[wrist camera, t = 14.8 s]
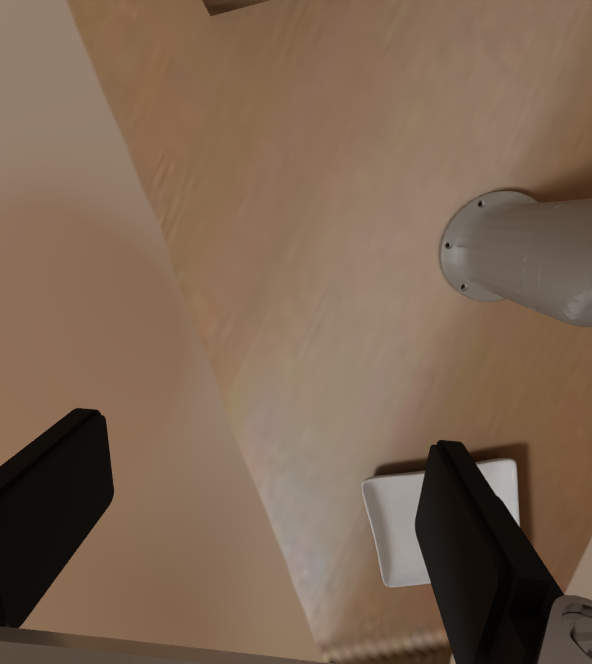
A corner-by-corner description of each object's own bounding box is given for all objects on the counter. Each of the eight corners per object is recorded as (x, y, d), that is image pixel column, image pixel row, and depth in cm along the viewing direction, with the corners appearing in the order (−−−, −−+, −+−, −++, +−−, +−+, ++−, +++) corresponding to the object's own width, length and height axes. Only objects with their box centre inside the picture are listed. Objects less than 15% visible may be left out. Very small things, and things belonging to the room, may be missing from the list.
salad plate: (381, 571, 59) (385, 591, 56) (356, 466, 53) (359, 483, 50) (514, 554, 56) (526, 575, 53) (504, 442, 50) (516, 457, 47)
